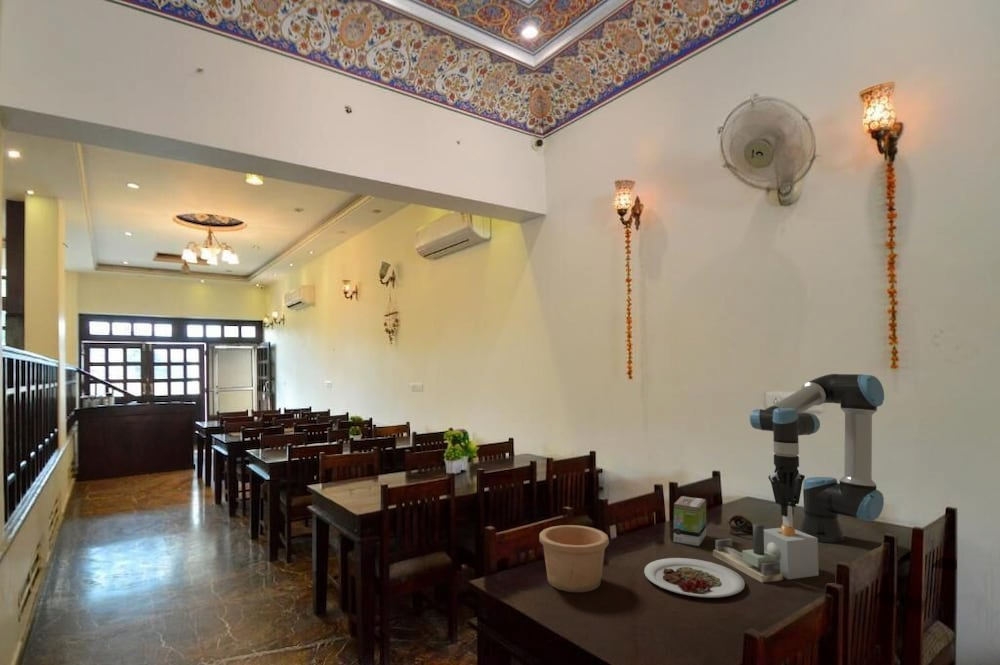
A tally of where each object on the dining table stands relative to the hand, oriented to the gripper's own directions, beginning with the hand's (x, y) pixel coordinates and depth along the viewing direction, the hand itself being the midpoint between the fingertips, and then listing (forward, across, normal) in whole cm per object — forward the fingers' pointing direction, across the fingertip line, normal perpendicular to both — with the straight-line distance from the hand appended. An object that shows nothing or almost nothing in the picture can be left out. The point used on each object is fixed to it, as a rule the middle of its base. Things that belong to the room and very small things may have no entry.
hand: (787, 525), depth 179 cm
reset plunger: (+9, 0, 0) cm, 9 cm away
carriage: (+11, +12, 0) cm, 16 cm away
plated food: (+15, +36, -1) cm, 39 cm away
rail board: (+15, +12, -6) cm, 20 cm away
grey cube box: (+15, 0, 0) cm, 15 cm away
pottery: (+15, +73, -10) cm, 75 cm away
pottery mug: (+15, -12, -37) cm, 42 cm away
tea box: (+15, +13, -36) cm, 41 cm away
